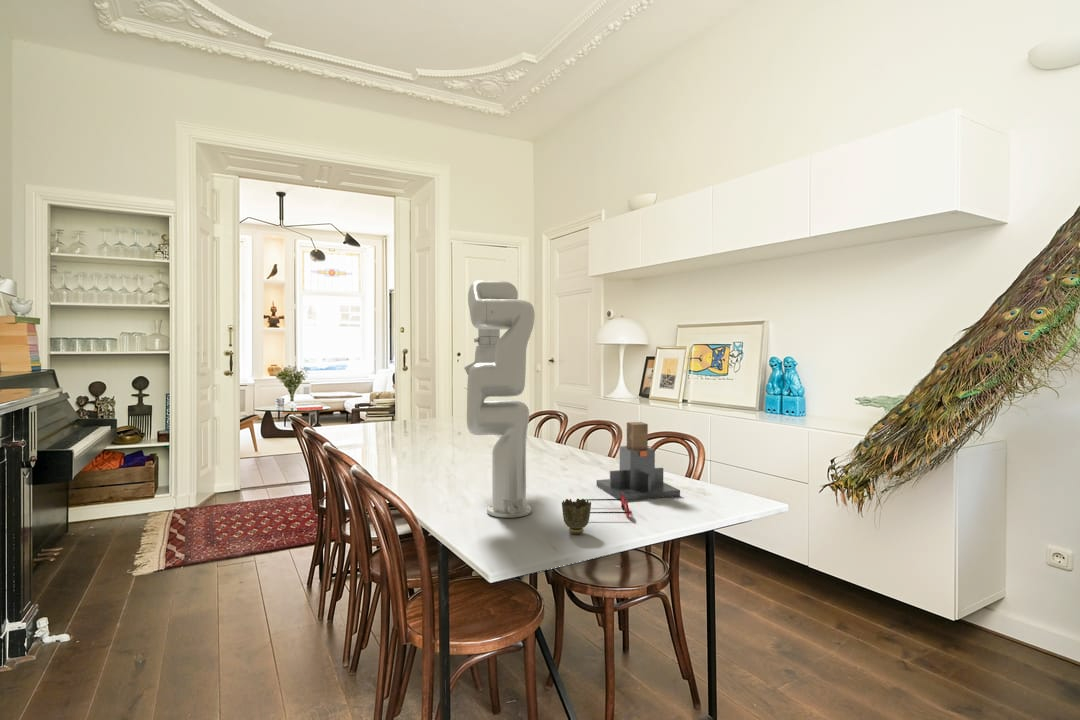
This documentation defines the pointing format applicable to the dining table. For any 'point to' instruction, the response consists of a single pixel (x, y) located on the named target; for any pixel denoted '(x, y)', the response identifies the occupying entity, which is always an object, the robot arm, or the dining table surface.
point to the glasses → (623, 504)
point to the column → (637, 435)
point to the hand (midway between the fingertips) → (489, 390)
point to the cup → (576, 515)
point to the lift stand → (637, 477)
